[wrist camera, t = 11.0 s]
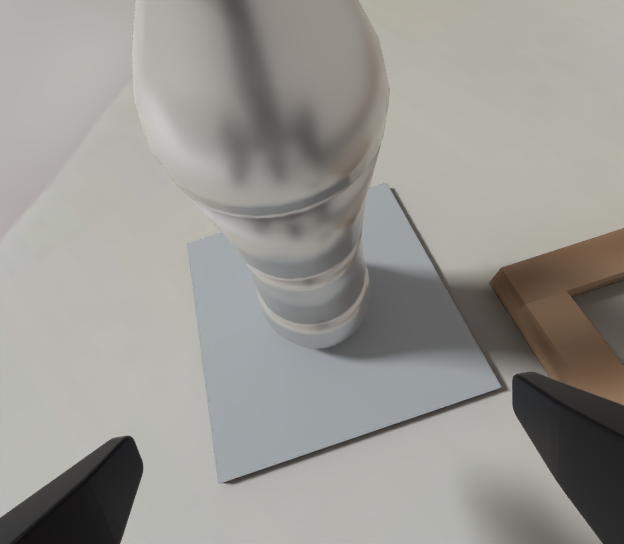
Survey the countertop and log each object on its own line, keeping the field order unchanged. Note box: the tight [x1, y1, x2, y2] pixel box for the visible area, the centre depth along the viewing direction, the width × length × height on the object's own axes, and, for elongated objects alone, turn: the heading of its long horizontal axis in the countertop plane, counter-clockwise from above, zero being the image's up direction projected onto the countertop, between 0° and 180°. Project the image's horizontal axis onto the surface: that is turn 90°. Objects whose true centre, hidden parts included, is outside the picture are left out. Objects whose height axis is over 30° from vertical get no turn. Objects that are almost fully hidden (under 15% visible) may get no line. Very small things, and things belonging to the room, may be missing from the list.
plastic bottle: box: [132, 0, 390, 349], centre depth 13 cm, size 6×7×20 cm
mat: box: [187, 183, 501, 484], centre depth 22 cm, size 16×16×1 cm
